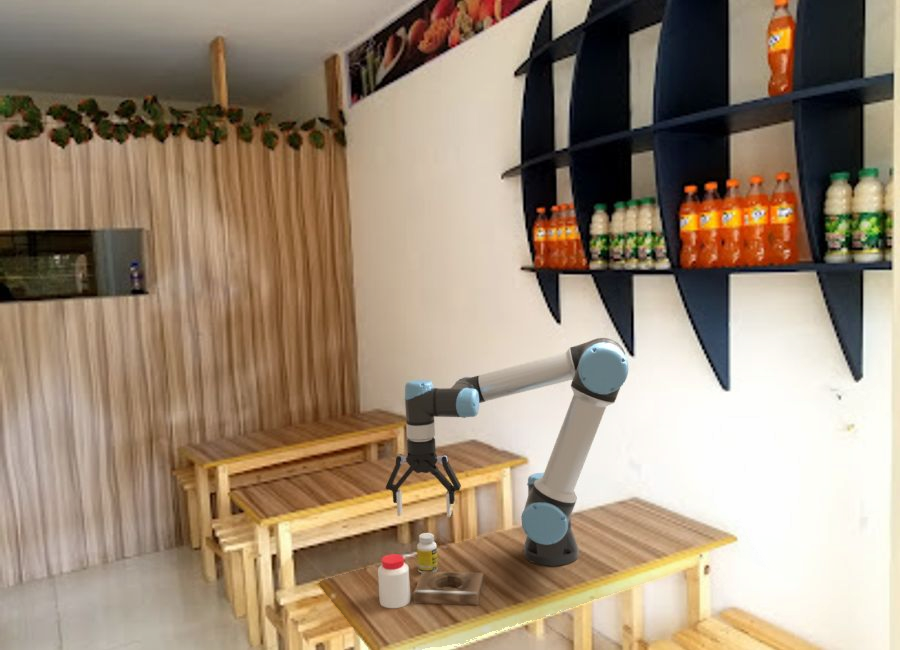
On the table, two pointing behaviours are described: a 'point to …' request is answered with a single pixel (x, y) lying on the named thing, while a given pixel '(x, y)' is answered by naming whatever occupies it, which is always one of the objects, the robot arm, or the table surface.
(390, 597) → the pill bottle
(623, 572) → the table surface
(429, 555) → the supplement bottle
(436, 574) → the jig
